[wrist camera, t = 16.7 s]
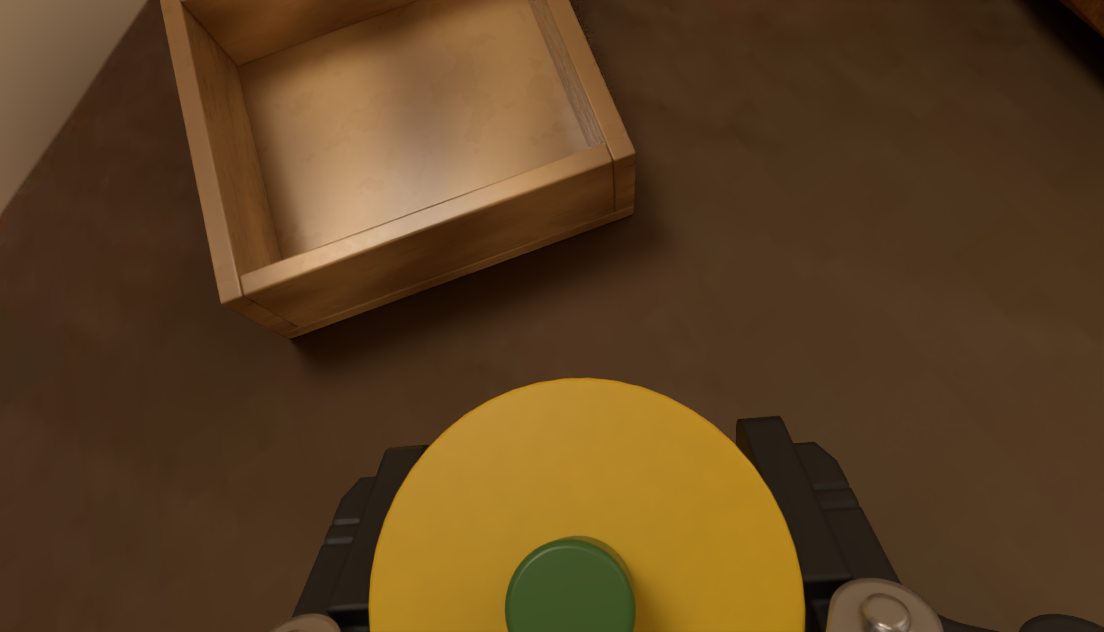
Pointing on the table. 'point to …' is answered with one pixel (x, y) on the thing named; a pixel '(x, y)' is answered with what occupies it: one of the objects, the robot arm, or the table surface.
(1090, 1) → the bread
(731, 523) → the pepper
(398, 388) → the table surface
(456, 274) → the tray
